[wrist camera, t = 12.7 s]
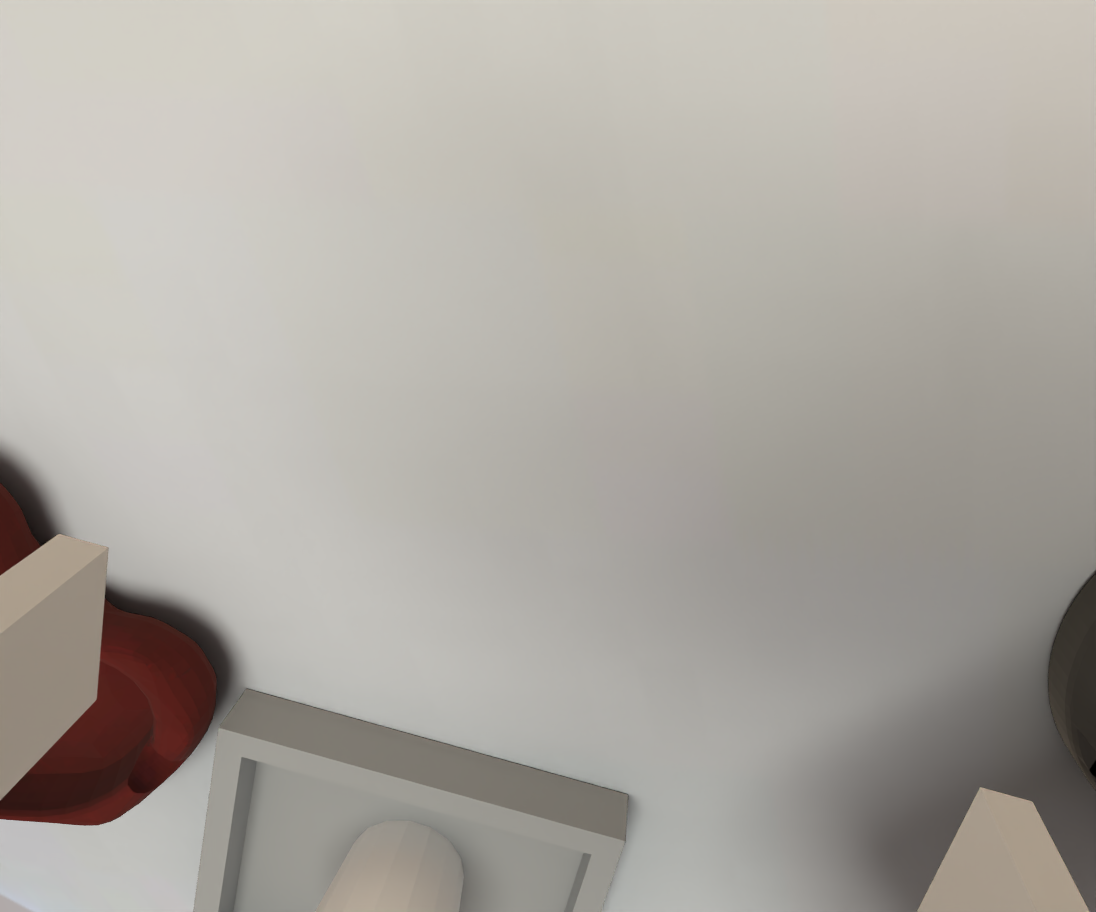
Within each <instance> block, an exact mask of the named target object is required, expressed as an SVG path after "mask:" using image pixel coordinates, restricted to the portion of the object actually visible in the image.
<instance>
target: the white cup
mask: <svg viewBox="0 0 1096 912" xmlns="http://www.w3.org/2000/svg"><path fill="white" fill-rule="evenodd" d="M463 880H464V873H463V867H462V861H461V857H460V856H459V854H458V853H457V851H456V850H455V848H454V847H453V845H452V844H451V842H450V841H449V840H448V839H446V838H445V837H443V836H442V835H441V834H439V833H438V832H437V831H435V830H434V829H432V828H431V827H428V826H424V825H421V824H418V823H415V822H412V821H385V822H382V823H379V824H377V825H374V826H371V827H369V828H367V829H366V830H365V831H364V832H363V833H362V834H361V835H360V836H359V838H358V839H357V840H356V841H355V842H354V844H353V846H352V847H351V849H350V851H349V853H348V854H347V856H346V858H345V860H344V861H343V863H342V865H341V867H340V869H339V870H338V872H337V874H336V876H335V877H334V879H333V881H332V883H331V884H330V886H329V888H328V890H327V891H326V893H325V895H324V897H323V898H322V900H321V902H320V904H319V906H318V907H317V909H316V911H315V912H459V908H460V901H461V894H462V887H463Z"/></svg>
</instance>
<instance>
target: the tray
mask: <svg viewBox="0 0 1096 912" xmlns="http://www.w3.org/2000/svg"><path fill="white" fill-rule="evenodd" d="M627 806H628V795H627V794H624V793H620V792H617V791H613V790H609V789H606V788H602V787H599V786H595V785H591V784H588V783H584V782H581V781H577V780H573V779H570V778H566V777H563V776H559V775H555V774H552V773H548V772H545V771H541V770H537V769H534V768H530V767H527V766H523V765H519V764H516V763H512V762H509V761H505V760H501V759H498V758H494V757H491V756H487V755H483V754H480V753H476V752H473V751H469V750H465V749H462V748H458V747H455V746H451V745H447V744H444V743H440V742H437V741H433V740H429V739H426V738H422V737H419V736H415V735H411V734H408V733H404V732H401V731H397V730H393V729H390V728H386V727H383V726H379V725H375V724H372V723H368V722H364V721H361V720H357V719H354V718H350V717H346V716H343V715H339V714H336V713H332V712H328V711H325V710H321V709H318V708H314V707H310V706H307V705H303V704H300V703H296V702H292V701H289V700H285V699H282V698H278V697H274V696H271V695H267V694H264V693H260V692H256V691H253V690H249V689H246V690H245V691H244V693H243V694H242V696H241V697H240V698H239V700H238V701H237V703H236V704H235V705H234V707H233V708H232V710H231V711H230V712H229V714H228V715H227V716H226V718H225V719H224V721H223V722H222V723H221V725H220V726H219V728H218V735H217V742H216V749H215V756H214V764H213V771H212V778H211V786H210V793H209V800H208V808H207V815H206V822H205V830H204V837H203V844H202V851H201V859H200V866H199V873H198V881H197V888H196V895H195V903H194V910H193V912H315V911H316V909H317V907H318V906H319V904H320V902H321V900H322V898H323V897H324V895H325V893H326V891H327V890H328V888H329V886H330V884H331V883H332V881H333V879H334V877H335V876H336V874H337V872H338V870H339V869H340V867H341V865H342V863H343V861H344V860H345V858H346V856H347V854H348V853H349V851H350V849H351V847H352V846H353V844H354V842H355V841H356V840H357V839H358V838H359V836H360V835H361V834H362V833H363V832H364V831H365V830H366V829H367V828H369V827H371V826H374V825H377V824H379V823H382V822H385V821H412V822H415V823H418V824H421V825H424V826H428V827H431V828H432V829H434V830H435V831H437V832H438V833H439V834H441V835H442V836H443V837H445V838H446V839H448V840H449V841H450V842H451V844H452V845H453V847H454V848H455V850H456V851H457V853H458V854H459V856H460V857H461V861H462V867H463V873H464V880H463V887H462V894H461V901H460V908H459V912H601V910H602V907H603V905H604V902H605V899H606V896H607V893H608V890H609V887H610V884H611V881H612V879H613V876H614V873H615V870H616V867H617V864H618V861H619V858H620V856H621V853H622V850H623V847H624V844H625V840H626V823H627Z"/></svg>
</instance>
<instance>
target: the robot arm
mask: <svg viewBox="0 0 1096 912" xmlns="http://www.w3.org/2000/svg"><path fill="white" fill-rule="evenodd" d="M108 549H109V548H108V547H105V546H101V545H97V544H94V543H90V542H87V541H83V540H79V539H76V538H72V537H68V536H65V535H61V534H58V535H57V536H55V537H54V538H53V539H51V540H50V541H48V542H47V543H46V544H44V545H43V546H41V547H40V548H39V549H37V550H36V551H34V552H33V553H31V554H30V555H29V556H27V557H26V558H24V559H23V560H22V561H20V562H19V563H17V564H16V565H15V566H13V567H12V568H10V569H9V570H8V571H6V572H5V573H3V574H2V575H0V800H1V799H2V798H3V797H4V796H5V795H6V794H7V793H8V792H9V791H10V790H11V789H12V788H13V787H14V786H15V785H16V783H17V782H18V781H19V780H20V779H21V778H22V777H23V776H24V775H25V774H26V773H27V772H28V771H29V770H30V769H31V768H32V767H33V766H34V765H35V764H36V763H37V761H38V760H39V759H40V758H41V757H42V756H43V755H44V754H45V753H46V752H47V751H48V750H49V749H50V748H51V747H52V746H53V745H54V744H55V743H56V742H57V741H58V740H59V738H60V737H61V736H62V735H63V734H64V733H65V732H66V731H67V730H68V729H69V728H70V727H71V726H72V725H73V724H74V723H75V722H76V721H77V720H78V719H79V718H80V716H81V715H82V714H83V713H84V712H85V711H86V710H87V709H88V708H89V707H90V706H91V705H92V704H93V703H94V702H95V701H96V700H97V689H98V676H99V663H100V651H101V638H102V625H103V613H104V600H105V587H106V574H107V562H108ZM1048 690H1049V700H1050V705H1051V710H1052V714H1053V718H1054V721H1055V724H1056V726H1057V729H1058V731H1059V733H1060V735H1061V737H1062V739H1063V741H1064V743H1065V745H1066V746H1067V748H1068V750H1069V751H1070V753H1071V754H1072V756H1073V758H1074V759H1075V761H1076V762H1077V764H1078V766H1079V767H1080V769H1081V770H1082V772H1083V774H1084V775H1085V777H1086V778H1087V780H1088V781H1089V782H1090V784H1091V785H1092V786H1093V788H1094V789H1095V790H1096V574H1095V575H1094V576H1093V577H1092V578H1091V580H1090V581H1089V582H1088V583H1087V584H1086V585H1085V587H1084V588H1083V589H1082V591H1081V592H1080V593H1079V595H1078V596H1077V598H1076V599H1075V601H1074V602H1073V604H1072V605H1071V607H1070V609H1069V610H1068V612H1067V614H1066V616H1065V618H1064V620H1063V622H1062V624H1061V626H1060V628H1059V631H1058V634H1057V636H1056V639H1055V642H1054V646H1053V650H1052V653H1051V659H1050V664H1049V675H1048ZM917 912H1089V910H1088V908H1087V906H1086V904H1085V902H1084V900H1083V898H1082V896H1081V894H1080V892H1079V890H1078V889H1077V887H1076V885H1075V883H1074V881H1073V879H1072V877H1071V875H1070V873H1069V871H1068V869H1067V867H1066V865H1065V863H1064V862H1063V860H1062V858H1061V856H1060V854H1059V852H1058V850H1057V848H1056V846H1055V844H1054V842H1053V840H1052V838H1051V836H1050V835H1049V833H1048V831H1047V829H1046V827H1045V825H1044V823H1043V821H1042V819H1041V817H1040V815H1039V813H1038V811H1037V810H1036V808H1035V806H1034V804H1033V802H1032V801H1029V800H1025V799H1022V798H1018V797H1014V796H1011V795H1007V794H1003V793H1000V792H996V791H992V790H989V789H985V788H982V787H980V788H979V790H978V792H977V794H976V796H975V798H974V800H973V802H972V804H971V806H970V808H969V810H968V812H967V814H966V816H965V818H964V820H963V822H962V824H961V826H960V828H959V830H958V832H957V834H956V836H955V838H954V840H953V842H952V844H951V845H950V847H949V849H948V851H947V853H946V855H945V857H944V859H943V861H942V863H941V865H940V867H939V869H938V871H937V873H936V875H935V877H934V879H933V881H932V883H931V885H930V887H929V889H928V891H927V893H926V895H925V897H924V899H923V901H922V902H921V904H920V906H919V908H918V910H917Z"/></svg>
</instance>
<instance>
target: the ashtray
mask: <svg viewBox="0 0 1096 912" xmlns="http://www.w3.org/2000/svg"><path fill="white" fill-rule="evenodd" d="M40 547H41V545H39V543H38V542H37V541H36V539H35V538H34V537H33V535H32V534H31V531H30V529H29V527H28V524H27V522H26V519H25V517H24V515H23V512H22V510H21V508H20V507H19V505H18V504H17V502H16V501H15V499H14V498H13V497H12V495H11V494H10V493H9V492H8V491H7V490H6V488H5V487H4V486H3V485H2V484H1V483H0V575H2V574H3V573H5V572H6V571H8V570H9V569H10V568H12V567H13V566H15V565H16V564H17V563H19V562H20V561H22V560H23V559H24V558H26V557H27V556H29V555H30V554H31V553H33V552H34V551H36V550H37V549H39V548H40ZM216 688H217V680H216V675H215V672H214V670H213V668H212V666H211V664H210V662H209V661H208V659H207V657H206V656H205V654H204V652H203V651H202V649H201V648H200V647H199V646H198V644H197V643H196V642H195V641H193V640H192V639H191V638H189V637H188V636H187V635H185V634H183V633H182V632H180V631H178V630H177V629H175V628H173V627H171V626H170V625H168V624H166V623H164V622H162V621H160V620H157V619H155V618H153V617H148V616H143V615H138V614H133V613H128V612H125V611H122V610H119V609H117V608H116V607H115V606H114V605H112V604H111V603H110V602H109V601H107V600H106V599H105V600H104V613H103V625H102V638H101V651H100V663H99V676H98V689H97V700H96V701H95V702H94V703H93V704H92V705H91V706H90V707H89V708H88V709H87V710H86V711H85V712H84V713H83V714H82V715H81V716H80V718H79V719H78V720H77V721H76V722H75V723H74V724H73V725H72V726H71V727H70V728H69V729H68V730H67V731H66V732H65V733H64V734H63V735H62V736H61V737H60V738H59V740H58V741H57V742H56V743H55V744H54V745H53V746H52V747H51V748H50V749H49V750H48V751H47V752H46V753H45V754H44V755H43V756H42V757H41V758H40V759H39V760H38V761H37V763H36V764H35V765H34V766H33V767H32V768H31V769H30V770H29V771H28V772H27V773H26V774H25V775H24V776H23V777H22V778H21V779H20V780H19V781H18V782H17V783H16V785H15V786H14V787H13V788H12V789H11V790H10V791H9V792H8V793H7V794H6V795H5V796H4V797H3V798H2V799H1V800H0V819H6V820H19V821H33V822H48V823H60V824H71V825H100V824H104V823H107V822H111V821H113V820H115V819H117V818H119V817H120V816H122V815H123V814H125V813H126V812H127V811H129V810H130V809H132V808H133V807H134V806H136V805H137V804H139V803H140V802H141V801H142V800H144V799H145V798H146V797H147V796H148V795H149V794H150V793H152V792H153V791H154V790H155V789H156V788H157V787H158V786H160V785H161V784H162V783H163V782H164V781H165V780H166V779H167V778H168V777H169V776H171V775H172V774H173V773H174V772H175V771H176V770H177V769H178V768H179V767H180V766H181V765H182V763H183V762H184V761H185V760H186V759H187V758H188V757H189V756H190V755H191V753H192V752H193V751H194V749H195V748H196V747H197V745H198V744H199V743H200V741H201V740H202V738H203V736H204V735H205V733H206V732H207V730H208V728H209V725H210V723H211V721H212V719H213V714H214V710H215V703H216Z"/></svg>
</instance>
